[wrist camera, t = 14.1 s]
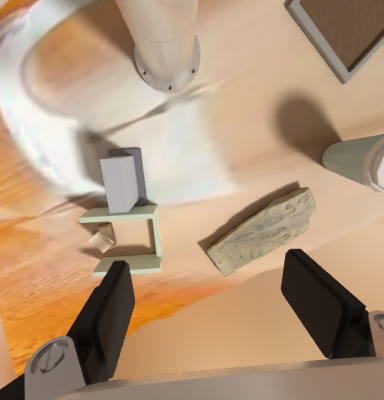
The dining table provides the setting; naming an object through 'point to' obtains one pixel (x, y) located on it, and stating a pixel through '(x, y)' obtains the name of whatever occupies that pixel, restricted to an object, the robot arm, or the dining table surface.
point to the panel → (138, 169)
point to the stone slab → (264, 231)
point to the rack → (136, 262)
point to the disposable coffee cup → (358, 160)
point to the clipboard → (341, 31)
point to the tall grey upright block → (120, 183)
